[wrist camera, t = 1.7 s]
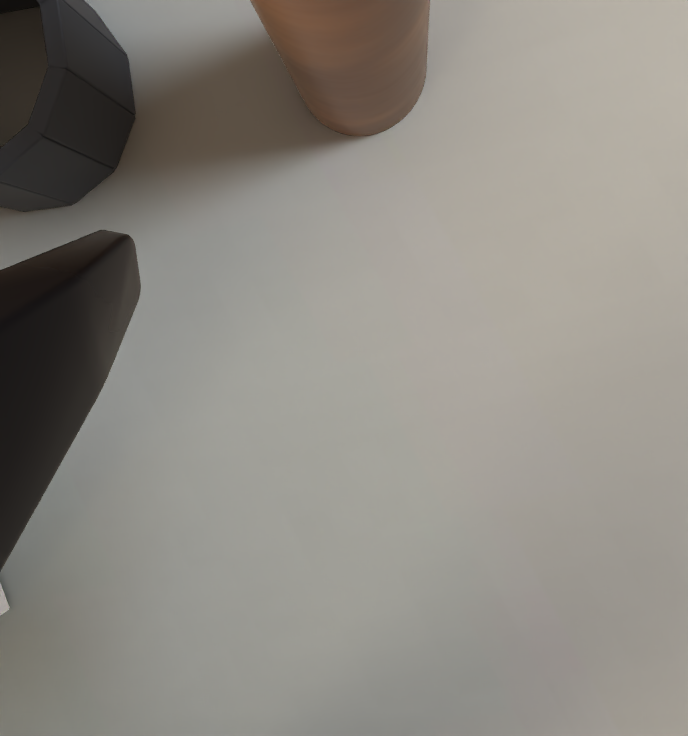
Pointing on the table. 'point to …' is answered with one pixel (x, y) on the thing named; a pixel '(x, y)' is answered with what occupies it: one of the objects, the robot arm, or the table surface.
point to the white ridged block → (3, 602)
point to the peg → (352, 57)
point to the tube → (69, 111)
